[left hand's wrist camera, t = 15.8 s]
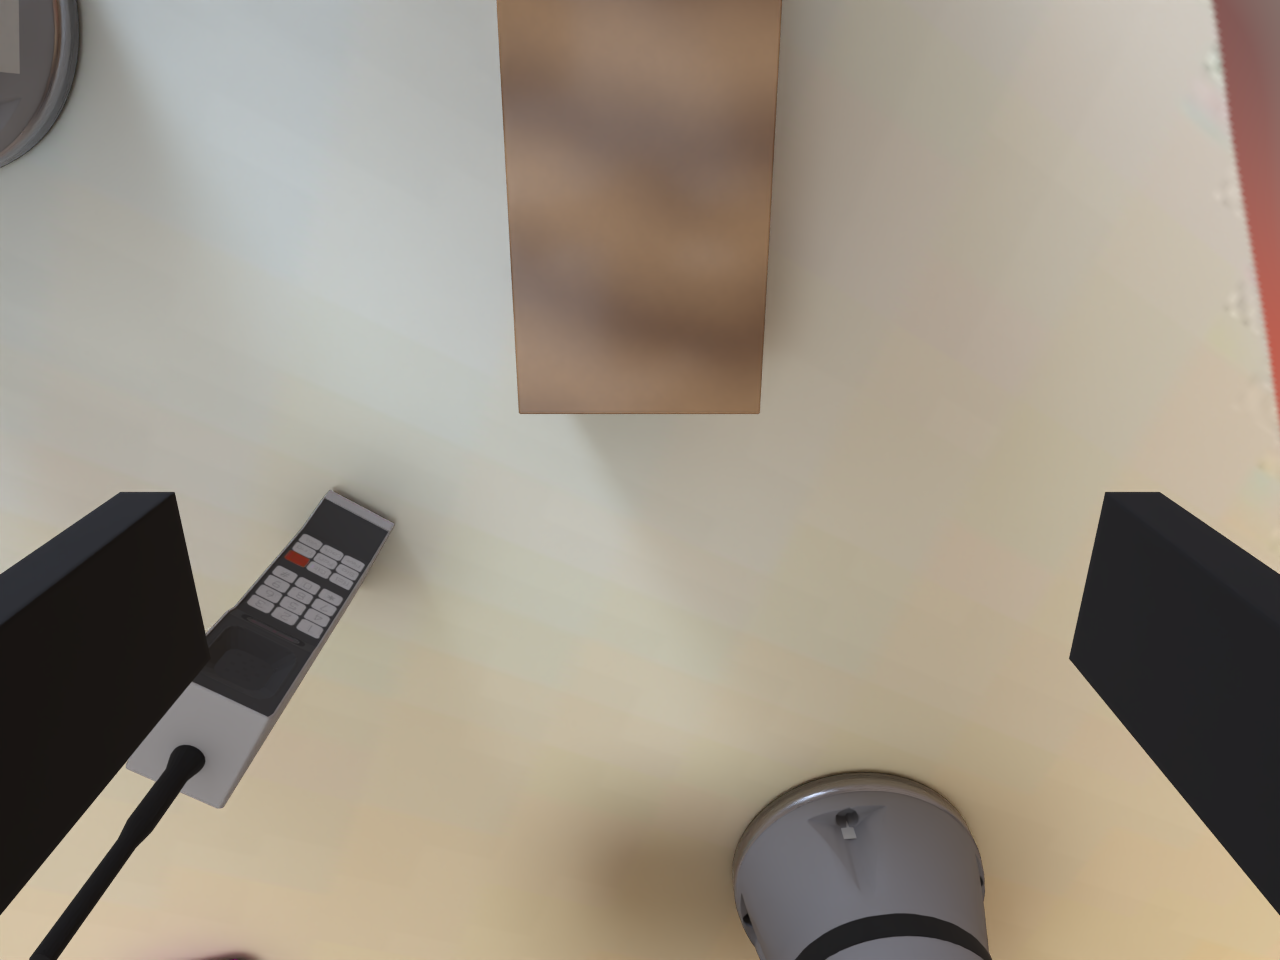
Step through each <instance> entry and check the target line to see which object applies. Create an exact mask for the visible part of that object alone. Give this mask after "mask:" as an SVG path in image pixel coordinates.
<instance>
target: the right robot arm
mask: <svg viewBox="0 0 1280 960" xmlns="http://www.w3.org/2000/svg"><path fill="white" fill-rule="evenodd" d="M78 44H79V21H78V11H77V2H76V0H0V167H2V166H4V165H6V164H8V163H10V162H12V161H14V160H15V159H17V158H19V157H20V156H22V155H23V154H25V153H26V152H27V151H28V150H30V149H31V148H32V147H33V146H35V145H36V144H37V143H38V142H39V141H40V140H41V138H42V137H43V136H44V135H45V134H46V133H47V132H48V130H49V129H50V128H51V126H52V125H53V124H54V122H55V121H56V119H57V117H58V115H59V114H60V112H61V110H62V108H63V106H64V104H65V102H66V99H67V97H68V94H69V92H70V89H71V85H72V82H73V78H74V74H75V69H76V63H77V57H78Z"/></svg>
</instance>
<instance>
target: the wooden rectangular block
mask: <svg viewBox="0 0 1280 960" xmlns="http://www.w3.org/2000/svg"><path fill="white" fill-rule="evenodd" d="M781 11H782V0H497V17H498V36H499V54H500V73H501V91H502V110H503V128H504V147H505V165H506V184H507V202H508V220H509V239H510V257H511V276H512V294H513V313H514V331H515V350H516V368H517V386H518V405H519V413H520V414H759V413H760V399H761V380H762V362H763V344H764V325H765V307H766V288H767V270H768V251H769V233H770V214H771V196H772V177H773V159H774V141H775V122H776V104H777V85H778V67H779V48H780V30H781Z"/></svg>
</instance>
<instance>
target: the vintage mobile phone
mask: <svg viewBox="0 0 1280 960" xmlns="http://www.w3.org/2000/svg"><path fill="white" fill-rule="evenodd" d="M393 527H394V523H392V522H390V521H388V520H387V519H385V518H383V517H381V516H379V515H377V514H375V513H373V512H371V511H370V510H368V509H366V508H364V507H362V506H360V505H358V504H356V503H354V502H353V501H351V500H349V499H347V498H345V497H343V496H341V495H339V494H337V493H336V492H334V491H332V490H330V491H328V493H327V494H326V495H325V496H324V497H323V498H322V500H321V501H320V503H319V504H318V506H317V507H316V508H315V510H314V511H313V513H312V514H311V516H310V517H309V518H308V520H307V521H306V523H305V524H304V526H303V527H302V528H301V529H300V531H299V532H298V533H297V534H296V535H295V536H294V538H293V539H292V540H291V541H290V542H289V543H288V545H287V546H286V547H285V548H284V549H283V550H282V552H281V553H280V554H279V555H278V556H277V557H276V558H275V560H274V561H273V562H272V563H271V564H270V565H269V567H268V568H267V569H266V570H265V571H264V572H263V574H262V575H261V576H260V577H259V578H258V579H257V581H256V582H255V583H254V584H253V585H252V586H251V588H250V589H249V590H248V591H247V592H246V593H245V594H244V596H243V597H242V598H241V599H240V600H239V601H238V603H237V604H236V605H235V606H234V607H233V608H231V609H230V610H228V611H226V612H225V613H224V615H223V616H222V617H221V618H220V619H219V620H218V621H217V622H216V623H215V624H214V625H213V626H212V628H211V629H210V630H209V631H208V632H207V633H206V639H207V643H208V648H209V652H210V657H211V659H210V660H209V661H208V663H207V664H206V665H205V666H204V668H203V669H202V670H201V671H200V672H199V674H198V675H197V676H196V677H195V679H194V680H193V681H192V682H191V683H190V685H189V686H188V687H187V688H186V689H185V691H184V692H183V693H182V694H181V696H180V697H179V698H178V699H177V700H176V702H175V703H174V704H173V705H172V707H171V708H170V709H169V710H168V711H167V713H166V714H165V715H164V716H163V718H162V719H161V720H160V721H159V722H158V724H157V725H156V726H155V727H154V728H153V730H152V731H151V732H150V733H149V735H148V736H147V737H146V738H145V739H144V741H143V742H142V743H141V744H140V746H139V747H138V748H137V749H136V750H135V752H134V753H133V754H132V755H131V756H130V758H129V760H128V762H127V764H126V768H127V769H128V770H131V771H133V772H135V773H138V774H140V775H142V776H144V777H147V778H149V779H151V780H154V781H156V783H155V784H154V785H153V787H152V788H151V789H150V791H149V792H148V793H147V795H146V796H145V797H144V799H143V800H142V801H141V803H140V804H139V805H138V807H137V808H136V809H135V811H134V812H133V813H132V815H131V816H130V817H129V819H128V820H127V822H126V824H125V826H124V828H123V830H122V832H121V834H120V836H119V838H118V840H117V841H116V842H115V844H114V845H113V846H112V848H111V849H110V851H109V852H108V853H107V855H106V856H105V857H104V859H103V860H102V861H101V863H100V864H99V865H98V867H97V868H96V869H95V871H94V872H93V873H92V875H91V876H90V877H89V879H88V880H87V882H86V883H85V884H84V886H83V887H82V888H81V890H80V891H79V892H78V894H77V895H76V896H75V898H74V899H73V900H72V902H71V903H70V904H69V906H68V907H67V908H66V910H65V911H64V913H63V914H62V915H61V917H60V918H59V919H58V921H57V922H56V923H55V925H54V926H53V927H52V929H51V930H50V931H49V933H48V934H47V935H46V937H45V938H44V940H43V941H42V942H41V944H40V945H39V946H38V948H37V949H36V950H35V952H34V953H33V954H32V956H31V957H30V959H29V960H57V959H58V957H59V956H60V954H61V953H62V952H63V950H64V949H65V947H66V946H67V944H68V943H69V942H70V940H71V939H72V937H73V936H74V935H75V933H76V932H77V930H78V929H79V928H80V926H81V925H82V923H83V922H84V920H85V919H86V918H87V916H88V915H89V913H90V912H91V911H92V909H93V908H94V906H95V905H96V903H97V902H98V901H99V899H100V898H101V896H102V895H103V894H104V892H105V891H106V889H107V888H108V887H109V885H110V884H111V882H112V881H113V879H114V878H115V877H116V875H117V874H118V872H119V871H120V870H121V868H122V867H123V865H124V864H125V862H126V861H127V860H128V858H129V857H130V855H131V854H132V853H133V851H134V850H135V848H136V847H137V846H138V845H139V844H140V843H141V842H142V841H143V840H144V839H145V838H146V837H147V836H148V835H149V834H150V833H151V832H152V831H153V829H154V828H155V826H156V825H157V824H158V822H159V821H160V819H161V818H162V817H163V815H164V814H165V812H166V811H167V809H168V808H169V807H170V805H171V804H172V802H173V801H174V799H175V798H176V797H177V795H178V794H179V792H181V793H183V794H185V795H188V796H190V797H192V798H195V799H197V800H199V801H201V802H204V803H206V804H208V805H211V806H213V807H215V808H223V807H224V806H225V804H226V802H227V801H228V799H229V798H230V796H231V794H232V793H233V791H234V790H235V788H236V786H237V785H238V783H239V781H240V780H241V778H242V777H243V775H244V773H245V772H246V770H247V769H248V767H249V765H250V764H251V762H252V760H253V759H254V757H255V756H256V754H257V752H258V751H259V749H260V748H261V746H262V744H263V743H264V741H265V740H266V738H267V736H268V735H269V733H270V731H271V730H272V728H273V727H274V725H275V723H276V722H277V720H278V719H279V717H280V715H281V714H282V712H283V710H284V709H285V707H286V706H287V704H288V702H289V701H290V699H291V698H292V696H293V694H294V693H295V691H296V689H297V688H298V686H299V685H300V683H301V681H302V680H303V678H304V677H305V675H306V673H307V672H308V670H309V669H310V667H311V665H312V664H313V662H314V660H315V659H316V657H317V656H318V654H319V652H320V651H321V649H322V648H323V646H324V644H325V643H326V641H327V639H328V638H329V636H330V635H331V633H332V631H333V630H334V628H335V627H336V625H337V623H338V622H339V620H340V618H341V617H342V615H343V614H344V612H345V610H346V609H347V607H348V606H349V604H350V602H351V601H352V599H353V597H354V596H355V594H356V593H357V591H358V589H359V587H360V585H361V584H362V582H363V580H364V578H365V577H366V575H367V573H368V571H369V570H370V568H371V566H372V564H373V562H374V561H375V559H376V557H377V555H378V554H379V552H380V550H381V548H382V547H383V545H384V543H385V541H386V540H387V538H388V536H389V534H390V532H391V531H392V529H393Z"/></svg>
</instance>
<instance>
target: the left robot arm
mask: <svg viewBox="0 0 1280 960" xmlns="http://www.w3.org/2000/svg"><path fill="white" fill-rule="evenodd" d="M210 659H211V657H210V652H209V648H208V643H207V639H206V634H205V629H204V625H203V620H202V616H201V611H200V606H199V602H198V597H197V593H196V588H195V583H194V579H193V574H192V570H191V565H190V560H189V556H188V551H187V547H186V542H185V537H184V533H183V528H182V524H181V519H180V515H179V510H178V505H177V501H176V496H175V492H120V493H118V494H117V495H115V496H114V497H112V498H111V499H110V500H108V501H107V502H105V503H104V504H102V505H101V506H99V507H98V508H96V509H95V510H94V511H92V512H91V513H89V514H88V515H86V516H85V517H83V518H82V519H80V520H79V521H78V522H76V523H75V524H73V525H72V526H70V527H69V528H67V529H66V530H64V531H63V532H61V533H60V534H59V535H57V536H56V537H54V538H53V539H51V540H50V541H48V542H47V543H45V544H44V545H43V546H41V547H40V548H38V549H37V550H35V551H34V552H32V553H31V554H29V555H28V556H26V557H25V558H24V559H22V560H21V561H19V562H18V563H16V564H15V565H13V566H12V567H10V568H9V569H8V570H6V571H5V572H3V573H2V574H0V915H1V914H2V912H3V911H4V910H5V909H6V908H7V906H8V905H9V904H10V903H11V901H12V900H13V899H14V898H15V897H16V895H17V894H18V893H19V892H20V891H21V889H22V888H23V887H24V886H25V884H26V883H27V882H28V881H29V880H30V878H31V877H32V876H33V875H34V873H35V872H36V871H37V870H38V869H39V867H40V866H41V865H42V864H43V862H44V861H45V860H46V859H47V858H48V856H49V855H50V854H51V853H52V852H53V850H54V849H55V848H56V847H57V845H58V844H59V843H60V842H61V841H62V839H63V838H64V837H65V836H66V834H67V833H68V832H69V831H70V830H71V828H72V827H73V826H74V825H75V824H76V822H77V821H78V820H79V819H80V817H81V816H82V815H83V814H84V813H85V811H86V810H87V809H88V808H89V806H90V805H91V804H92V803H93V802H94V800H95V799H96V798H97V797H98V795H99V794H100V793H101V792H102V791H103V789H104V788H105V787H106V786H107V785H108V783H109V782H110V781H111V780H112V778H113V777H114V776H115V775H116V774H117V772H118V771H119V770H120V769H121V767H122V766H123V765H124V764H125V763H126V761H127V760H128V759H129V758H130V756H131V755H132V754H133V753H134V752H135V750H136V749H137V748H138V747H139V746H140V744H141V743H142V742H143V741H144V739H145V738H146V737H147V736H148V735H149V733H150V732H151V731H152V730H153V728H154V727H155V726H156V725H157V724H158V722H159V721H160V720H161V719H162V718H163V716H164V715H165V714H166V713H167V711H168V710H169V709H170V708H171V707H172V705H173V704H174V703H175V702H176V700H177V699H178V698H179V697H180V696H181V694H182V693H183V692H184V691H185V689H186V688H187V687H188V686H189V685H190V683H191V682H192V681H193V680H194V679H195V677H196V676H197V675H198V674H199V672H200V671H201V670H202V669H203V668H204V666H205V665H206V664H207V663H208V661H209V660H210ZM1069 659H1070V660H1071V661H1072V663H1073V664H1074V665H1075V666H1076V668H1077V669H1078V670H1079V671H1080V672H1081V674H1082V675H1083V676H1084V677H1085V679H1086V680H1087V681H1088V682H1089V683H1090V685H1091V686H1092V687H1093V688H1094V689H1095V691H1096V692H1097V693H1098V694H1099V696H1100V697H1101V698H1102V699H1103V700H1104V702H1105V703H1106V704H1107V705H1108V707H1109V708H1110V709H1111V710H1112V711H1113V713H1114V714H1115V715H1116V716H1117V718H1118V719H1119V720H1120V721H1121V722H1122V724H1123V725H1124V726H1125V727H1126V728H1127V730H1128V731H1129V732H1130V733H1131V735H1132V736H1133V737H1134V738H1135V739H1136V741H1137V742H1138V743H1139V744H1140V746H1141V747H1142V748H1143V749H1144V750H1145V752H1146V753H1147V754H1148V755H1149V756H1150V758H1151V759H1152V760H1153V761H1154V763H1155V764H1156V765H1157V766H1158V767H1159V769H1160V770H1161V771H1162V772H1163V774H1164V775H1165V776H1166V777H1167V778H1168V780H1169V781H1170V782H1171V783H1172V785H1173V786H1174V787H1175V788H1176V789H1177V791H1178V792H1179V793H1180V794H1181V795H1182V797H1183V798H1184V799H1185V800H1186V802H1187V803H1188V804H1189V805H1190V806H1191V808H1192V809H1193V810H1194V811H1195V813H1196V814H1197V815H1198V816H1199V817H1200V819H1201V820H1202V821H1203V822H1204V824H1205V825H1206V826H1207V827H1208V828H1209V830H1210V831H1211V832H1212V833H1213V834H1214V836H1215V837H1216V838H1217V839H1218V841H1219V842H1220V843H1221V844H1222V845H1223V847H1224V848H1225V849H1226V850H1227V852H1228V853H1229V854H1230V855H1231V856H1232V858H1233V859H1234V860H1235V861H1236V862H1237V864H1238V865H1239V866H1240V867H1241V869H1242V870H1243V871H1244V872H1245V873H1246V875H1247V876H1248V877H1249V878H1250V880H1251V881H1252V882H1253V883H1254V884H1255V886H1256V887H1257V888H1258V889H1259V891H1260V892H1261V893H1262V894H1263V895H1264V897H1265V898H1266V899H1267V900H1268V901H1269V903H1270V904H1271V905H1272V906H1273V908H1274V909H1275V910H1276V911H1277V912H1278V914H1279V915H1280V574H1278V573H1277V572H1275V571H1274V570H1272V569H1271V568H1270V567H1268V566H1267V565H1265V564H1264V563H1262V562H1261V561H1259V560H1258V559H1256V558H1255V557H1254V556H1252V555H1251V554H1249V553H1248V552H1246V551H1245V550H1243V549H1242V548H1240V547H1239V546H1237V545H1236V544H1235V543H1233V542H1232V541H1230V540H1229V539H1227V538H1226V537H1224V536H1223V535H1221V534H1220V533H1219V532H1217V531H1216V530H1214V529H1213V528H1211V527H1210V526H1208V525H1207V524H1205V523H1204V522H1202V521H1201V520H1200V519H1198V518H1197V517H1195V516H1194V515H1192V514H1191V513H1189V512H1188V511H1186V510H1185V509H1184V508H1182V507H1181V506H1179V505H1178V504H1176V503H1175V502H1173V501H1172V500H1170V499H1169V498H1168V497H1166V496H1165V495H1163V494H1162V493H1160V492H1105V496H1104V501H1103V505H1102V510H1101V515H1100V519H1099V524H1098V528H1097V533H1096V537H1095V542H1094V547H1093V551H1092V556H1091V560H1090V565H1089V570H1088V574H1087V579H1086V583H1085V588H1084V593H1083V597H1082V602H1081V606H1080V611H1079V616H1078V620H1077V625H1076V629H1075V634H1074V639H1073V643H1072V648H1071V652H1070V657H1069ZM732 878H733V888H734V896H735V902H736V908H737V911H738V914H739V917H740V919H741V922H742V925H743V928H744V930H745V932H746V934H747V935H748V937H749V939H750V941H751V942H752V944H753V945H754V947H755V948H756V951H757V953H758V956H759V958H760V960H992V958H991V956H990V954H989V949H988V939H987V931H986V921H985V911H984V903H983V901H984V894H985V886H984V871H983V866H982V861H981V857H980V854H979V850H978V848H977V846H976V844H975V841H974V839H973V837H972V835H971V833H970V831H969V829H968V827H967V825H966V822H965V821H964V819H963V818H962V816H961V815H960V813H959V812H958V811H957V810H956V809H955V807H954V806H953V805H952V804H951V803H950V802H948V801H947V800H946V799H945V798H944V797H942V796H941V795H940V794H938V793H937V792H935V791H933V790H932V789H930V788H928V787H926V786H924V785H922V784H920V783H917V782H915V781H912V780H909V779H906V778H902V777H898V776H893V775H888V774H880V773H848V774H841V775H834V776H830V777H825V778H821V779H818V780H815V781H811V782H809V783H806V784H804V785H801V786H799V787H797V788H795V789H793V790H791V791H789V792H787V793H785V794H784V795H782V796H780V797H779V798H777V799H776V800H775V801H773V802H772V803H770V804H769V805H768V806H767V807H766V808H765V809H763V810H762V811H761V812H760V813H759V814H758V815H757V816H756V817H755V818H754V820H753V821H752V822H751V823H750V825H749V826H748V827H747V829H746V830H745V832H744V834H743V835H742V837H741V839H740V841H739V843H738V846H737V849H736V852H735V855H734V860H733V868H732Z"/></svg>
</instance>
